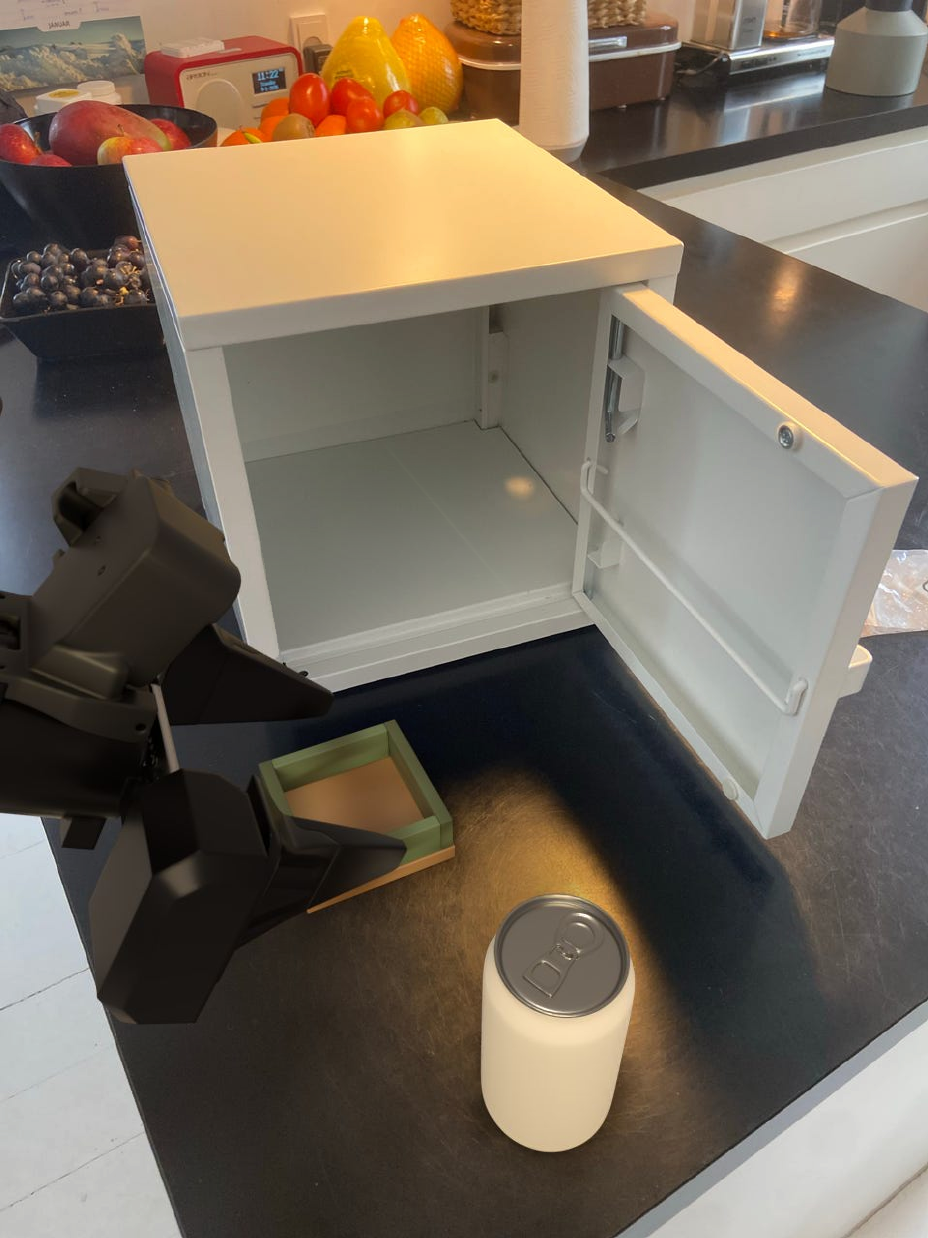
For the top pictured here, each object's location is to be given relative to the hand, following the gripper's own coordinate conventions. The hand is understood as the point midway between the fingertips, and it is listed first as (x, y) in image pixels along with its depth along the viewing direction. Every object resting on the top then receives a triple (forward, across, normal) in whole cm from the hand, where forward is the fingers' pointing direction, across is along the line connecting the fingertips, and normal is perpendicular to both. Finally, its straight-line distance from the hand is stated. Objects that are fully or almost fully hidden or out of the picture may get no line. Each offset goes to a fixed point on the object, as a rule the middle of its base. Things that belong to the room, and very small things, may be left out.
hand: (362, 772), depth 36 cm
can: (+16, -4, +14) cm, 21 cm away
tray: (+11, +14, +14) cm, 23 cm away
